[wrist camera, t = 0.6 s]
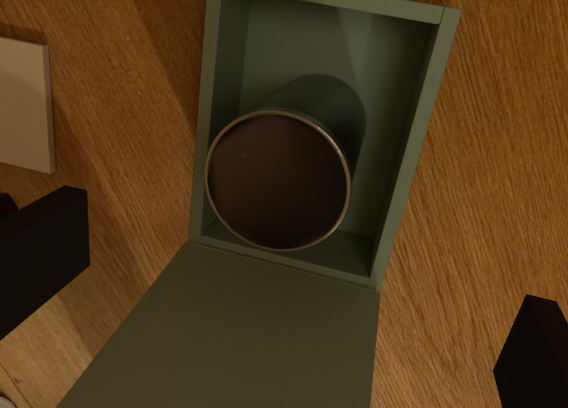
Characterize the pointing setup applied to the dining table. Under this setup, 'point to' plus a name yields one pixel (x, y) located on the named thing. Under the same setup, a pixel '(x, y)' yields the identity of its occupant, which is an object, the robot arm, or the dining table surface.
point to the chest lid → (236, 340)
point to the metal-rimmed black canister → (288, 164)
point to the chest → (359, 76)
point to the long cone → (6, 403)
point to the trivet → (26, 105)
